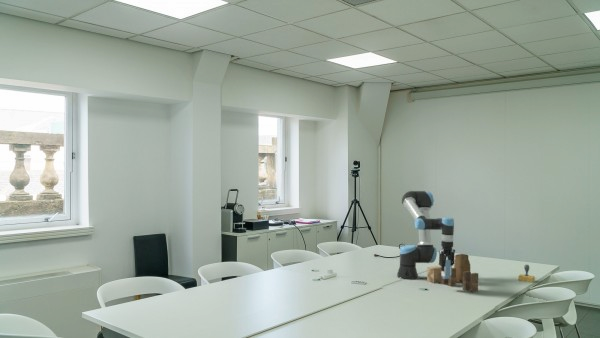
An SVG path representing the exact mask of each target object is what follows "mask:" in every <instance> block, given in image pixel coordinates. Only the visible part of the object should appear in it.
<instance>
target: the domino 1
mask: <svg viewBox="0 0 600 338" xmlns="http://www.w3.org/2000/svg"><path fill="white" fill-rule="evenodd" d="M450 264H451V260H448V259H446V263H445V267H446V273H445V276H442V278H443V279H448V278H450Z"/></svg>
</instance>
